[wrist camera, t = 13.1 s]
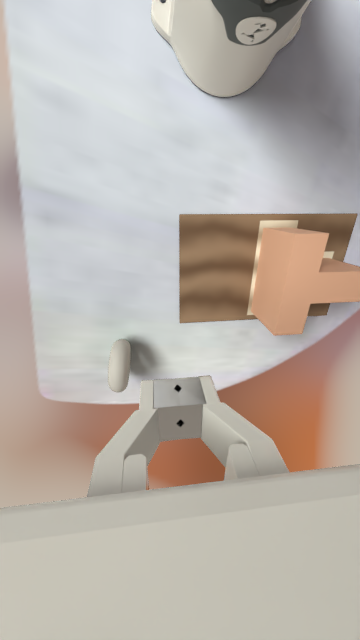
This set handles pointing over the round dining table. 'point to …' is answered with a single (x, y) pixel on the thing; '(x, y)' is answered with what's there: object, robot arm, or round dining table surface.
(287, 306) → the t block
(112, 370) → the donut
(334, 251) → the board
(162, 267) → the round dining table surface
